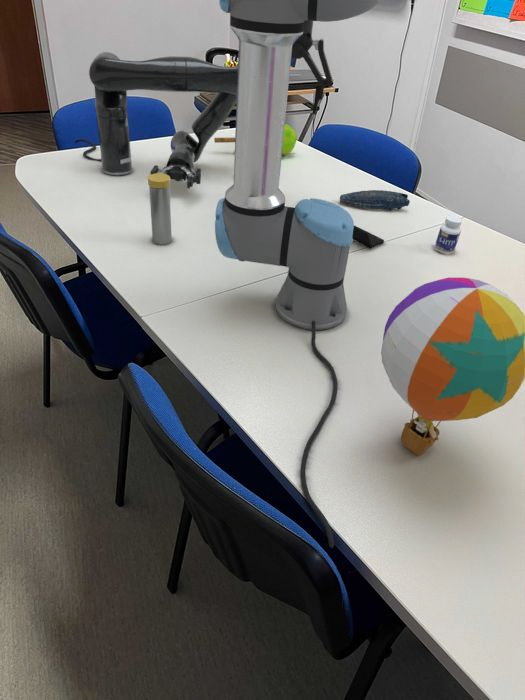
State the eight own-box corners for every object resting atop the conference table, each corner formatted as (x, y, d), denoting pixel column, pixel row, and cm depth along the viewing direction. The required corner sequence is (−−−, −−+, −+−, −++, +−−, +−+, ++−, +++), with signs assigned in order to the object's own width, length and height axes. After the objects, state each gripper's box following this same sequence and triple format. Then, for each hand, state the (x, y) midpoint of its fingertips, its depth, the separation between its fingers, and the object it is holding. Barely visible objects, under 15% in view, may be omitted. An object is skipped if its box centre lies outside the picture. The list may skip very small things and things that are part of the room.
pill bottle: (433, 251, 139) (442, 220, 133) (435, 243, 143) (444, 213, 137) (453, 256, 138) (464, 225, 132) (454, 247, 142) (465, 217, 136)
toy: (330, 436, 84) (367, 277, 66) (403, 387, 95) (453, 238, 76) (431, 520, 73) (510, 357, 55) (500, 454, 84) (586, 299, 65)
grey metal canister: (155, 235, 135) (151, 174, 125) (173, 237, 135) (171, 176, 125) (150, 243, 131) (146, 181, 121) (169, 245, 131) (166, 184, 121)
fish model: (408, 214, 157) (412, 198, 153) (339, 207, 158) (341, 191, 154) (406, 206, 162) (410, 190, 159) (339, 199, 163) (341, 183, 160)
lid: (150, 179, 126) (150, 172, 125) (172, 181, 126) (172, 174, 125) (145, 187, 121) (145, 180, 120) (167, 189, 121) (167, 182, 120)
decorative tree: (211, 117, 187) (292, 117, 193) (212, 147, 194) (290, 146, 199) (217, 132, 174) (304, 131, 179) (217, 163, 180) (301, 162, 186)
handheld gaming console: (388, 234, 141) (380, 212, 133) (377, 256, 140) (367, 236, 131) (351, 226, 147) (341, 204, 139) (340, 247, 146) (329, 227, 138)
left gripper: (156, 150, 155) (146, 169, 143) (203, 153, 156) (198, 172, 143) (157, 174, 160) (148, 195, 147) (203, 177, 161) (198, 198, 148)
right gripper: (351, 16, 123) (336, 111, 137) (248, 5, 125) (243, 100, 139) (350, 20, 118) (335, 119, 131) (242, 8, 119) (238, 107, 133)
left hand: (173, 184), depth 145 cm, fingers open, 8 cm apart
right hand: (288, 109), depth 135 cm, fingers open, 13 cm apart
